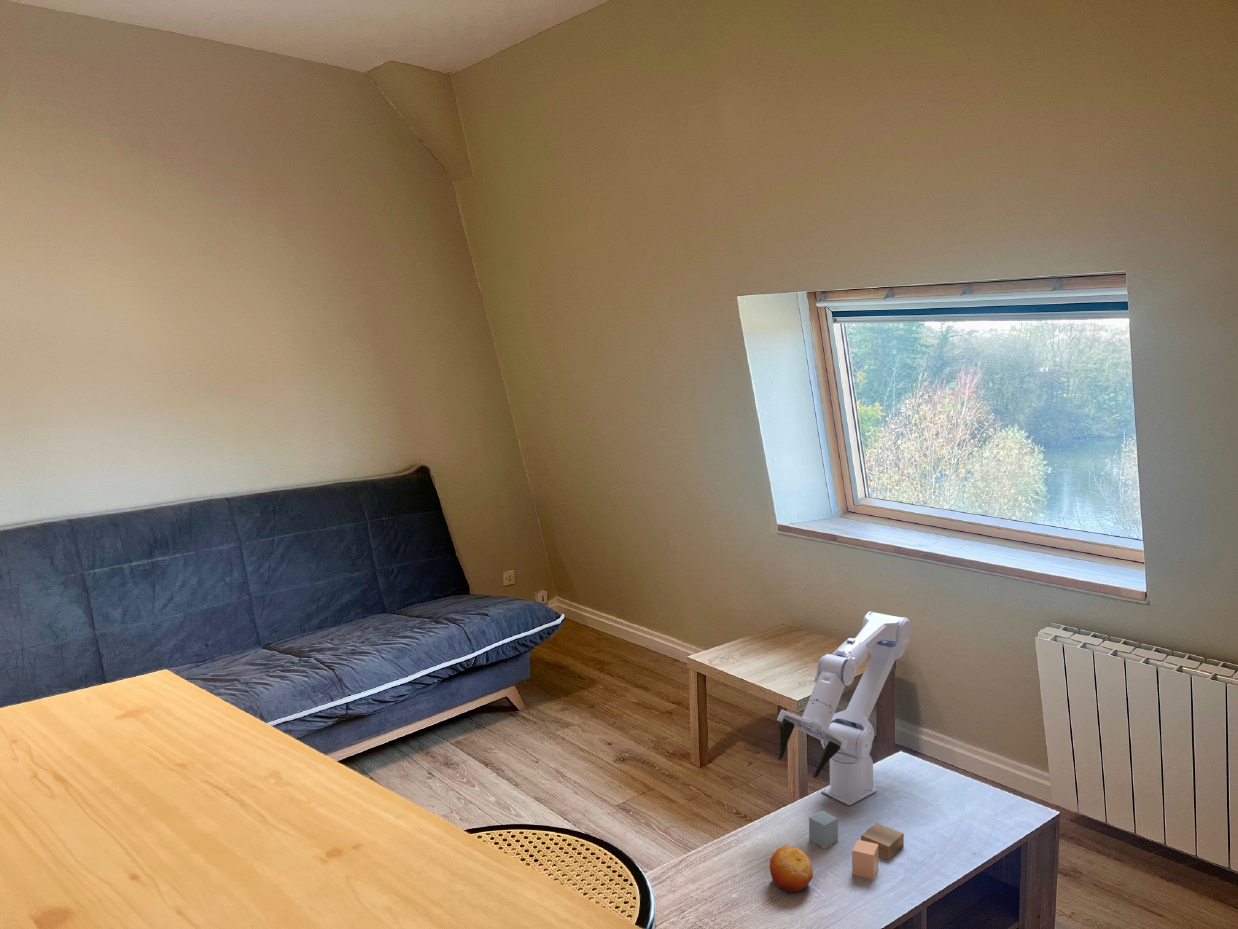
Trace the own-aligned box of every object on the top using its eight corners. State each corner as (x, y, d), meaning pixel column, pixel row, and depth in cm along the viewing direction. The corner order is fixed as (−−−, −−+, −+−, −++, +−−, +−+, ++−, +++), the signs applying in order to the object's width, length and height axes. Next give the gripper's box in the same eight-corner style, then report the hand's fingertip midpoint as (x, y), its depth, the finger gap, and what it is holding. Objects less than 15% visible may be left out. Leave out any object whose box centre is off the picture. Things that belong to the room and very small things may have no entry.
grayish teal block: (822, 833, 188) (822, 810, 187) (837, 841, 185) (837, 818, 184) (809, 840, 185) (809, 817, 185) (824, 848, 182) (824, 825, 181)
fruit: (774, 857, 177) (792, 832, 174) (806, 889, 174) (825, 864, 170) (752, 878, 171) (770, 851, 168) (784, 911, 168) (804, 885, 164)
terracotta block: (857, 863, 177) (857, 839, 176) (878, 868, 175) (878, 844, 174) (852, 874, 173) (852, 850, 173) (873, 880, 172) (873, 855, 171)
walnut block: (876, 836, 186) (876, 822, 186) (903, 847, 182) (903, 833, 182) (861, 849, 182) (861, 835, 181) (888, 860, 178) (888, 846, 177)
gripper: (791, 686, 189) (767, 746, 182) (858, 718, 185) (835, 780, 179) (786, 696, 195) (761, 754, 189) (850, 727, 192) (828, 787, 185)
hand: (797, 767), depth 184 cm, fingers open, 7 cm apart
